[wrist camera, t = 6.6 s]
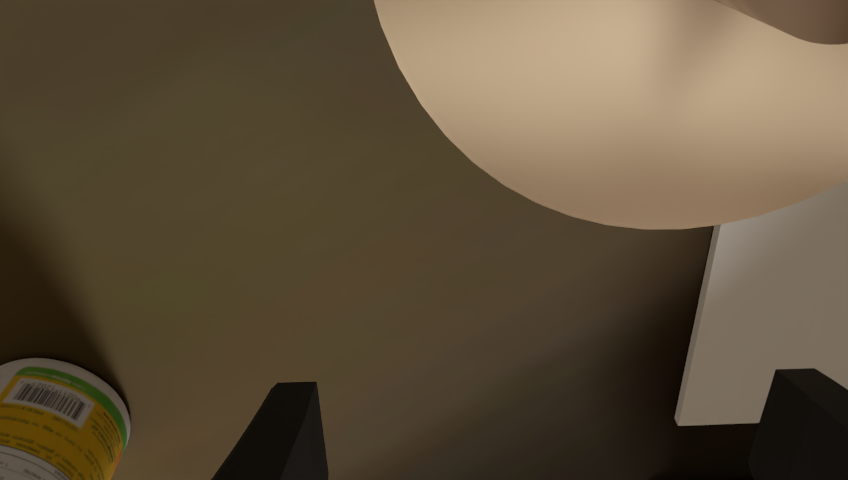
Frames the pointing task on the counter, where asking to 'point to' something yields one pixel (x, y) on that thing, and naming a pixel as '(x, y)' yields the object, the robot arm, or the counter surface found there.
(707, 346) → the mat
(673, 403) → the counter surface
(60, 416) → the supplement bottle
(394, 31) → the lid
